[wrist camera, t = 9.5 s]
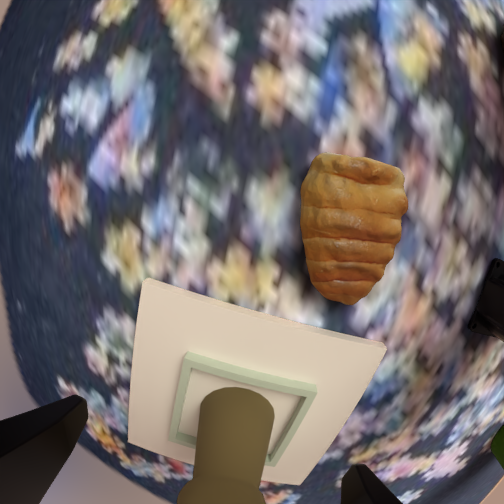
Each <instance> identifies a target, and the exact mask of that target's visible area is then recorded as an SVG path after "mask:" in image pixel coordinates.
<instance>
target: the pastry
mask: <svg viewBox="0 0 504 504" xmlns="http://www.w3.org/2000/svg"><path fill="white" fill-rule="evenodd" d="M404 180H405V178H404V175H403V173H402V172H401V170H400V169H399V168H397V167H394V166H392V165H388V164H385V163H382V162H380V161H376V160H372V159H369V158H365V157H350V156H348V155H341V154H334V153H329V152H326V153H322V154H319V155H318V156H316V157H315V158H314V160H313V161H312V164H311V166H310V169H309V171H308V174H307V176H306V177H305V179H304V181H303V183H302V185H301V218H300V228H301V231H302V240H303V243H304V247H305V254H306V263H307V267H308V272H309V275H310V280H311V283H312V284H313V285H314V286H315V287H316V289H317V290H318V291H319V292H320V293H321V295H323V296H324V297H325V298H327V299H329V300H333V301H338V302H342V303H344V304H347V305H353V304H355V303H356V302H358V301H359V300H360V299H361V298H363V297H365V296H367V295H368V293H369V292H370V291H371V289H372V287H373V286H374V285H375V283H376V282H378V281H379V280H380V279H381V278H382V276H383V275H384V270H385V267H386V265H387V264H388V263H389V261H390V260H391V259H392V258H393V255H394V249H395V246H396V244H397V243H398V242H399V241H400V239H401V217H402V215H403V214H405V213H406V212H407V210H408V200H407V197H406V195H405V192H404V186H403V184H404Z"/></svg>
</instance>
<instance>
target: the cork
mask: <svg viewBox="0 0 504 504" xmlns="http://www.w3.org/2000/svg"><path fill="white" fill-rule="evenodd" d="M274 418H275V414H274V408H273V407H272V405H271V404H270V402H269V401H268V400H267V399H266V398H265V397H263V396H262V395H261V394H259V393H257V392H254V391H252V390H250V389H245V388H240V387H224V388H221V389H218V390H214V391H212V392H211V393H209V394H208V395H207V396H205V398H204V399H203V401H202V402H201V405H200V413H199V422H198V431H197V441H196V450H195V460H194V471H193V479H192V480H190V481H189V482H187V483H186V485H185V486H184V487H183V488H182V490H181V491H180V492H179V495H178V498H177V504H266V503H265V500H264V496H263V494H262V493H261V492H260V491H259V486H260V482H261V478H262V473H263V469H264V465H265V460H266V456H267V451H268V447H269V442H270V438H271V433H272V428H273V423H274Z"/></svg>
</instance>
